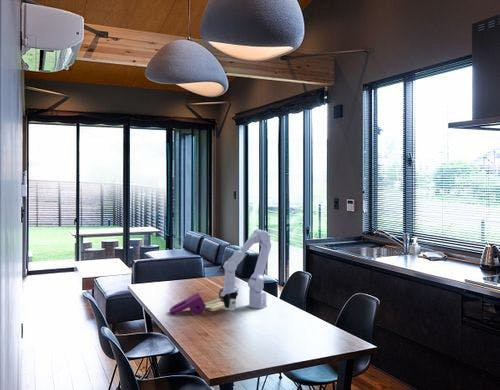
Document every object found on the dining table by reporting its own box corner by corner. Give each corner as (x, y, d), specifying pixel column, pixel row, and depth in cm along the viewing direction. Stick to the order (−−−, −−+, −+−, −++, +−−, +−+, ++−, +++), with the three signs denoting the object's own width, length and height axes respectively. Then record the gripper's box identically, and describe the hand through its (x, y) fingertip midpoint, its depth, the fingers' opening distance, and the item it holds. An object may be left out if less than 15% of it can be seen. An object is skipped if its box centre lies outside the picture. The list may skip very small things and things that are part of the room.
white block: (236, 309, 260) (236, 299, 260) (232, 310, 256) (232, 300, 256) (228, 307, 263) (228, 297, 263) (223, 309, 259) (223, 299, 259)
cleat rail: (227, 305, 267) (227, 300, 267) (212, 311, 255) (212, 305, 255) (218, 303, 270) (218, 298, 270) (203, 309, 258) (203, 303, 258)
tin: (221, 303, 272) (221, 289, 272) (217, 302, 274) (217, 288, 274) (237, 298, 284) (237, 284, 284) (233, 297, 286) (233, 284, 286)
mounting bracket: (177, 326, 246) (207, 310, 250) (170, 313, 245) (200, 296, 249) (175, 321, 255) (204, 305, 259) (168, 308, 254) (198, 292, 258)
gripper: (231, 279, 268) (231, 302, 268) (216, 283, 255) (216, 308, 256) (241, 280, 264) (241, 304, 264) (226, 285, 252) (226, 310, 252)
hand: (229, 306), depth 260 cm, fingers closed on white block, 4 cm apart
